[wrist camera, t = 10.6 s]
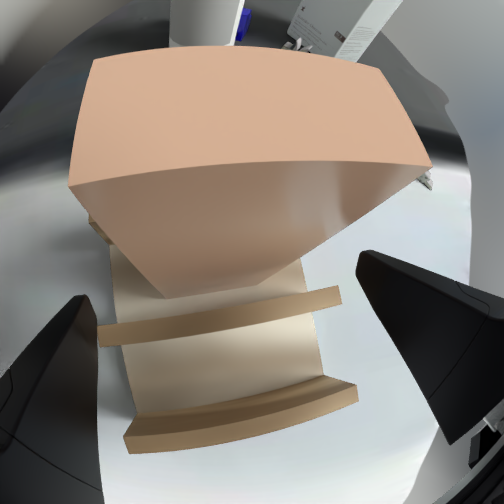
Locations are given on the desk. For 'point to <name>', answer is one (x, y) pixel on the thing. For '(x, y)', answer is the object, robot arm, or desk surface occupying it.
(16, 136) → the desk surface
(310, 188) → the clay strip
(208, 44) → the spray bottle
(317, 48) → the skincare box
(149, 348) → the rack
